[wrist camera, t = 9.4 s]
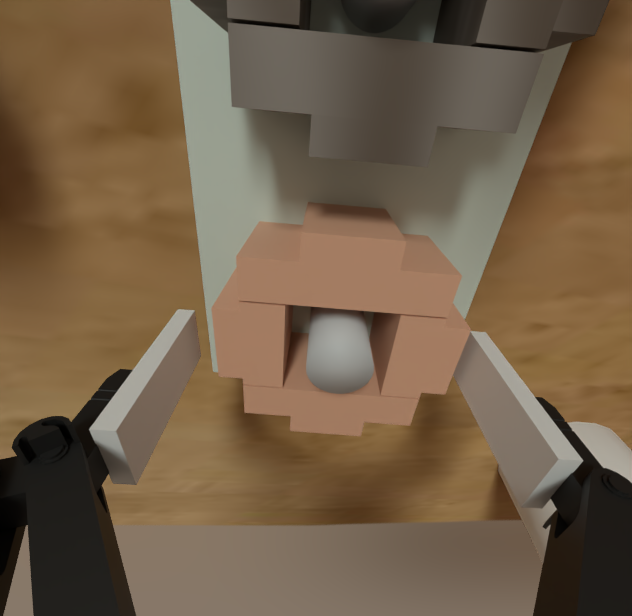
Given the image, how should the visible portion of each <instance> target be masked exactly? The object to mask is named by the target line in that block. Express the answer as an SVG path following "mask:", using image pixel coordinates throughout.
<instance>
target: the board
mask: <svg viewBox="0 0 632 616" xmlns="http://www.w3.org/2000/svg"><path fill="white" fill-rule="evenodd" d="M170 1H171V10H172V19H173V27H174V36H175V45H176V53H177V62H178V71H179V79H180V88H181V97H182V105H183V114H184V123H185V131H186V140H187V149H188V157H189V166H190V175H191V183H192V192H193V201H194V209H195V218H196V227H197V235H198V244H199V253H200V261H201V270H202V279H203V287H204V296H205V305H206V313H207V322H208V331H209V339H210V348H211V357H212V365H213V372H218V366H217V356H216V347H215V338H214V328H213V319H212V310H211V308H212V306H213V305H214V303H215V301H216V300H217V298H218V296H219V295H220V293H221V291H222V290H223V288H224V287H225V285H226V283H227V282H228V280H229V278H230V277H231V275H232V273H233V272H234V270H235V269H236V267H237V265H236V256H237V254H238V253H239V251H240V250H241V248H242V247H243V245H244V244H245V242H246V241H247V239H248V238H249V236H250V235H251V233H252V232H253V230H254V228H255V227H256V225H257V224H258V222H259V221H264V222H275V223H287V224H298V225H303V221H304V217H305V213H306V208H307V204H308V202H313V203H325V204H336V205H348V206H359V207H370V208H382V209H386V210H387V212H388V213H389V215H390V216H391V218H392V219H393V221H394V223H395V224H396V226H397V227H398V229H399V230H400V232H401V233H402V234H413V235H425V236H428V237H429V238H430V239H431V240H432V241H433V242H434V244H435V245H436V246H437V247H438V248H439V249H440V251H441V252H442V253H443V254H444V255H445V256H446V257H447V259H448V260H449V261H450V262H451V263H452V264H453V266H454V267H455V268H456V269H457V270H458V271H459V273H460V274H461V275H462V278H461V281H460V283H459V286H458V289H457V292H456V295H455V298H454V301H453V304H454V305H455V307H456V308H457V310H458V311H459V312H460V314H461V315H462V317H463V318H464V320H465V318H466V315H467V312H468V310H469V307H470V305H471V302H472V299H473V297H474V294H475V292H476V289H477V286H478V284H479V281H480V279H481V276H482V273H483V271H484V268H485V266H486V263H487V261H488V258H489V255H490V253H491V250H492V248H493V245H494V242H495V240H496V237H497V235H498V232H499V229H500V227H501V224H502V222H503V219H504V217H505V214H506V211H507V209H508V206H509V204H510V201H511V198H512V196H513V193H514V191H515V188H516V185H517V183H518V180H519V178H520V175H521V172H522V170H523V167H524V165H525V162H526V160H527V157H528V154H529V152H530V149H531V147H532V144H533V141H534V139H535V136H536V134H537V131H538V128H539V126H540V123H541V121H542V118H543V116H544V113H545V110H546V108H547V105H548V103H549V100H550V97H551V95H552V92H553V90H554V87H555V84H556V82H557V79H558V77H559V74H560V72H561V69H562V66H563V64H564V61H565V59H566V56H567V53H568V51H569V48H570V46H571V43H572V42H571V43H568V44H565V45H561V46H558V47H555V48H552V49H549V50H545V51H542V52H539V53H542V54H544V56H543V59H542V61H541V64H540V67H539V70H538V73H537V75H536V78H535V81H534V84H533V87H532V89H531V92H530V95H529V98H528V101H527V103H526V106H525V109H524V112H523V115H522V118H521V120H520V123H519V126H518V129H517V132H516V134H514V133H501V132H489V131H477V130H465V129H453V128H443V127H437V131H436V135H435V139H434V143H433V148H432V152H431V156H430V160H429V164H428V167H418V166H407V165H396V164H385V163H374V162H364V161H353V160H342V159H331V158H320V157H310V156H309V145H310V129H311V115H305V114H295V113H284V112H273V111H263V110H254V109H246V108H237V107H232V102H231V81H230V60H229V39H228V33H227V32H226V31H225V30H224V29H223V28H221V27H220V26H219V25H218V24H217V23H216V22H214V21H213V20H212V19H211V18H210V17H209V16H207V15H206V14H205V13H204V12H203V11H202V10H200V9H199V8H198V7H197V6H196V5H195V4H194V3H192V2H191V1H190V0H170ZM441 1H442V0H311V13H310V31H319V32H329V33H339V34H349V35H359V36H370V37H380V38H390V39H400V40H410V41H420V42H430V43H433V39H434V34H435V30H436V25H437V20H438V15H439V11H440V6H441ZM373 316H374V312H371V311H359V310H347V309H335V308H323V307H311V306H299V305H293V318H292V332H298V333H309V337H308V349H307V361H306V373H307V376H308V378H309V380H310V381H311V382H312V383H313V384H314V385H315V386H316V387H317V388H319V389H321V390H323V391H326V392H329V393H335V394H345V393H350V392H354V391H356V390H358V389H360V388H362V387H363V386H365V385H366V384H367V383H368V382H369V381H370V379H371V377H372V375H373V372H374V363H373V358H372V353H371V347H370V342H369V336H370V331H371V326H372V321H373Z"/></svg>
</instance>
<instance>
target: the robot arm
mask: <svg viewBox="0 0 632 616" xmlns="http://www.w3.org/2000/svg"><path fill="white" fill-rule="evenodd" d="M200 357H201V353H200V346H199V338H198V331H197V324H196V317H195V310H182V309H178V310H177V311H176V313H175V314H174V315H173V317H172V318H171V319H170V321H169V322H168V323H167V325H166V326H165V327H164V329H163V330H162V332H161V333H160V334H159V336H158V337H157V338H156V340H155V341H154V342H153V344H152V345H151V346H150V348H149V349H148V350H147V352H146V353H145V354H144V356H143V357H142V359H141V360H140V361H139V363H138V364H137V365H136V367H135V368H134V369H133V370H126V369H120V370H118V371H117V372H115V373H114V374H113V375H111V376H110V377H108V378H107V379H106V380H105V382H104V383H103V384H102V385H101V386H100V388H99V390H98V391H96V393H95V394H94V395H93V396H92V397H91V400H89V401H88V402H87V404H86V405H85V406H84V407H83V408H82V410H81V411H80V412H79V413H78V415H77V416H76V417H75V418H74V419H73V421H72V422H70V420H69V419H68V418H65V417H63V416H52V417H48V418H44V419H41V420H39V421H37V422H35V423H33V424H30V425H29V426H28V427H26V428H25V429H24V430H22V431H21V432H20V433H19V434H18V436H17V437H16V438H15V439H14V442H13V445H12V449H13V450H14V452H15V453H16V455H17V456H15V457H11V458H6V459H1V460H0V616H3V613H4V610H5V606H6V602H7V598H8V594H9V590H10V586H11V582H12V578H13V574H14V570H15V566H16V563H17V558H18V555H19V550H20V547H21V543H22V539H23V535H24V531H25V527H26V525H28V535H29V551H30V566H31V582H32V596H33V613H34V616H136V614H135V610H134V606H133V602H132V598H131V594H130V591H129V586H128V583H127V579H126V575H125V571H124V567H123V563H122V559H121V555H120V551H119V548H118V544H117V540H116V536H115V532H114V528H113V524H112V520H111V517H110V513H109V509H108V505H107V501H106V497H105V493H104V489H103V487H102V484H103V482H104V480H105V479H106V477H107V475H108V474H109V476H110V478H111V480H112V482H113V483H114V484H131V485H136V484H137V482H138V480H139V478H140V476H141V474H142V473H143V471H144V469H145V467H146V465H147V463H148V461H149V459H150V457H151V455H152V453H153V451H154V449H155V447H156V445H157V443H158V441H159V439H160V437H161V435H162V433H163V431H164V429H165V427H166V425H167V423H168V421H169V419H170V417H171V415H172V413H173V411H174V409H175V407H176V405H177V403H178V401H179V399H180V397H181V395H182V393H183V391H184V389H185V387H186V385H187V383H188V381H189V379H190V377H191V375H192V373H193V371H194V369H195V367H196V365H197V363H198V361H199V359H200ZM453 376H454V378H455V380H456V382H457V384H458V386H459V387H460V389H461V391H462V393H463V395H464V397H465V399H466V401H467V403H468V405H469V407H470V409H471V411H472V413H473V415H474V417H475V419H476V421H477V423H478V425H479V427H480V429H481V431H482V433H483V435H484V437H485V438H486V440H487V442H488V444H489V446H490V448H491V450H492V452H493V454H494V456H495V458H496V460H497V462H498V464H499V466H500V468H501V470H502V472H503V474H504V476H505V478H506V480H507V482H508V484H509V486H510V488H511V490H512V491H513V493H514V495H515V497H516V499H517V501H518V503H519V505H520V507H523V508H540V509H542V508H543V507H544V506H545V505H546V504H547V502H548V501H549V500H550V499H551V500H552V502H553V504H554V505H555V507H556V509H557V510H556V511H555V512H554V513H553V514H552V515H551V516H550V517H549V518H548V520H547V521H546V522H545V523H544V525H543V526H542V527H543V528H545V529H547V528H548V526H549V525H551V526H550V531H549V536H548V541H547V546H546V551H545V556H544V562H543V567H542V573H541V577H540V582H539V588H538V592H537V598H536V603H535V608H534V613H533V616H632V483H631V482H630V481H629V480H628V479H626V478H625V477H623V476H622V475H620V474H619V473H617V472H615V471H612V470H610V469H607V468H603V467H602V466H601V464H600V463H599V462H598V461H597V459H596V458H595V457H594V456H593V454H592V453H591V452H590V451H589V449H588V448H587V447H586V446H585V445H584V443H583V442H582V441H581V440H580V438H579V437H578V436H577V435H576V433H575V432H574V431H572V428H571V427H570V426H569V425H568V423H567V422H565V421H564V418H563V417H562V416H561V415H560V413H559V412H558V411H557V410H556V408H555V407H553V406H552V405H551V404H550V403H548V402H547V401H546V400H545V399H543V398H541V397H534V395H533V394H532V393H531V391H530V390H529V389H528V387H527V386H526V385H525V383H524V382H523V381H522V379H521V378H520V377H519V376H518V374H517V373H516V372H515V370H514V369H513V368H512V366H511V365H510V364H509V362H508V361H507V360H506V358H505V357H504V356H503V355H502V353H501V352H500V351H499V349H498V348H497V347H496V345H495V344H494V343H493V341H492V340H491V339H490V337H489V336H488V335H487V333H486V332H474V331H470V334H469V336H468V339H467V341H466V344H465V346H464V349H463V351H462V354H461V356H460V359H459V361H458V364H457V366H456V369H455V371H454V373H453Z"/></svg>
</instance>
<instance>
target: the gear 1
mask: <svg viewBox="0 0 632 616" xmlns="http://www.w3.org/2000/svg"><path fill="white" fill-rule="evenodd" d="M190 1H191V2H192V3H194V4H195V5H196V6H197V7H198V8H199V9H200V10H202V11H203V12H204V13H205V14H206V15H207V16H209V17H210V18H211V19H212V20H213V21H214V22H216V23H217V24H218V25H219V26H220V27H221V28H223V29H224V30H225V31H226V32H227V33H228V39H229V60H230V81H231V102H232V107H237V108H246V109H254V110H263V111H273V112H284V113H295V114H305V115H311V129H310V145H309V156H310V157H320V158H331V159H342V160H353V161H364V162H374V163H385V164H396V165H407V166H418V167H428V164H429V160H430V156H431V152H432V148H433V143H434V139H435V135H436V131H437V127H443V128H453V129H465V130H477V131H489V132H501V133H514V134H516V132H517V129H518V126H519V123H520V120H521V118H522V115H523V112H524V109H525V106H526V103H527V101H528V98H529V95H530V92H531V89H532V87H533V84H534V81H535V78H536V75H537V73H538V70H539V67H540V64H541V61H542V59H543V56H544V54H542V53H539V52H542V51H545V50H549V49H552V48H555V47H558V46H561V45H565V44H568V43H571V42H574V41H578V40H581V39H584V38H587V37H590V36H594V35H595V34H596V32H597V29H598V27H599V24H600V22H601V19H602V17H603V15H604V12H605V10H606V7H607V5H608V2H609V0H442V1H441V6H440V11H439V15H438V20H437V25H436V30H435V34H434V39H433V43H430V42H420V41H410V40H400V39H390V38H380V37H370V36H359V35H349V34H339V33H329V32H319V31H310V13H311V0H190Z"/></svg>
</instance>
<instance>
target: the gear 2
mask: <svg viewBox="0 0 632 616" xmlns="http://www.w3.org/2000/svg"><path fill="white" fill-rule="evenodd" d="M236 265H237V267H236V269H235V270H234V272H233V273H232V275H231V277H230V278H229V280H228V282H227V283H226V285H225V287H224V288H223V290H222V291H221V293H220V295H219V296H218V298H217V300H216V301H215V303H214V305H213V306H212V308H211V310H212V319H213V328H214V338H215V347H216V356H217V366H218V375H219V377H230V378H243V384H244V385H243V393H244V411H245V413H255V414H268V415H281V416H291V421H290V431H299V432H312V433H325V434H338V435H351V436H361V434H362V429H363V425H364V422H370V423H383V424H396V425H409V426H410V424H411V421H412V418H413V415H414V412H415V409H416V407H417V404H418V401H419V398H420V395H421V393H431V394H444V395H445V393H446V391H447V388H448V386H449V383H450V381H451V378H452V376H453V373H454V371H455V369H456V366H457V364H458V361H459V359H460V356H461V354H462V351H463V349H464V346H465V344H466V341H467V339H468V336H469V334H470V331H471V329H470V327H469V326H468V324H467V323H466V321H465V320H464V318H463V317H462V315H461V314H460V312H459V311H458V310H457V308H456V307H455V305H454V304H453V301H454V298H455V295H456V292H457V289H458V286H459V283H460V281H461V278H462V275H461V274H460V273H459V271H458V270H457V269H456V268H455V267H454V266H453V264H452V263H451V262H450V261H449V260H448V259H447V257H446V256H445V255H444V254H443V253H442V252H441V251H440V249H439V248H438V247H437V246H436V245H435V244H434V242H433V241H432V240H431V239H430V238H429V237H428V236H425V235H413V234H402V233H401V232H400V230H399V229H398V227H397V226H396V224H395V223H394V221H393V219H392V218H391V216H390V215H389V213H388V212H387V210H386V209H382V208H370V207H359V206H348V205H336V204H325V203H313V202H308V204H307V208H306V213H305V217H304V221H303V225H298V224H287V223H275V222H264V221H259V222H258V224H257V225H256V227H255V228H254V230H253V232H252V233H251V235H250V236H249V238H248V239H247V241H246V242H245V244H244V245H243V247H242V248H241V250H240V251H239V253H238V254H237V256H236ZM293 305H299V306H311V307H323V308H335V309H347V310H359V311H371V312H374V316H373V321H372V326H371V331H370V336H369V342H370V347H371V353H372V358H373V363H374V372H373V375H372V377H371V379H370V381H369V382H368V383H367V384H366V385H365V386H363V387H362V388H360V389H358V390H356V391H354V392H350V393H345V394H335V393H329V392H326V391H323V390H321V389H319V388H317V387H316V386H315V385H314V384H313V383H312V382H311V381H310V380H309V378H308V376H307V373H306V361H307V349H308V337H309V333H298V332H292V318H293Z"/></svg>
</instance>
